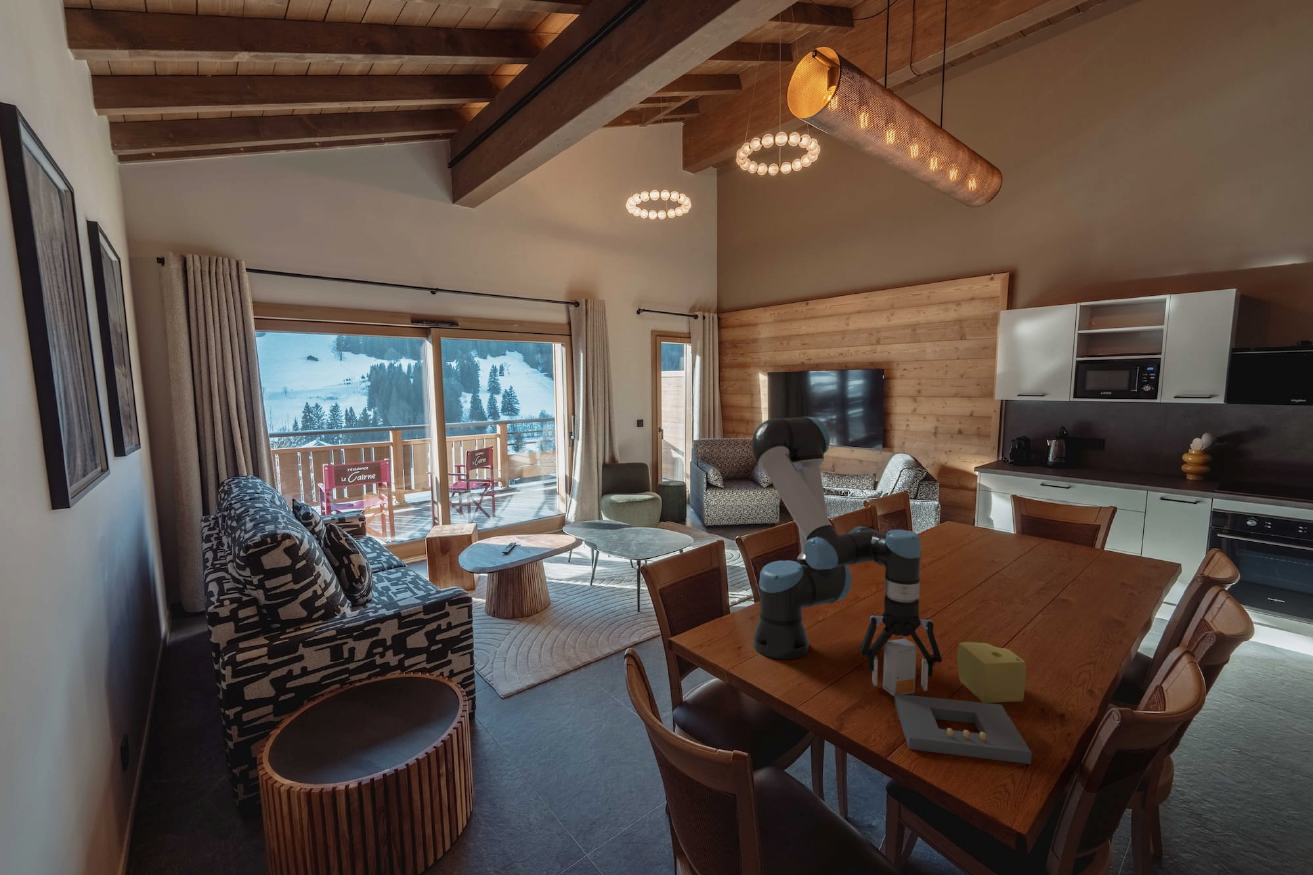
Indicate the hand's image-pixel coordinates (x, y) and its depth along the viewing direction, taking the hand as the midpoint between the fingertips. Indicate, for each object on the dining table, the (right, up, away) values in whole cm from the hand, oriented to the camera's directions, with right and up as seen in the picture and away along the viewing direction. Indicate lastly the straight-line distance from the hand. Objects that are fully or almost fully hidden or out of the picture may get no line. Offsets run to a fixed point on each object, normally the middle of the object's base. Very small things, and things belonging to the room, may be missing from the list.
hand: (899, 685), depth 134 cm
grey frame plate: (+6, -3, -15) cm, 17 cm away
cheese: (+21, -1, -1) cm, 21 cm away
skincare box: (0, -2, 0) cm, 2 cm away
